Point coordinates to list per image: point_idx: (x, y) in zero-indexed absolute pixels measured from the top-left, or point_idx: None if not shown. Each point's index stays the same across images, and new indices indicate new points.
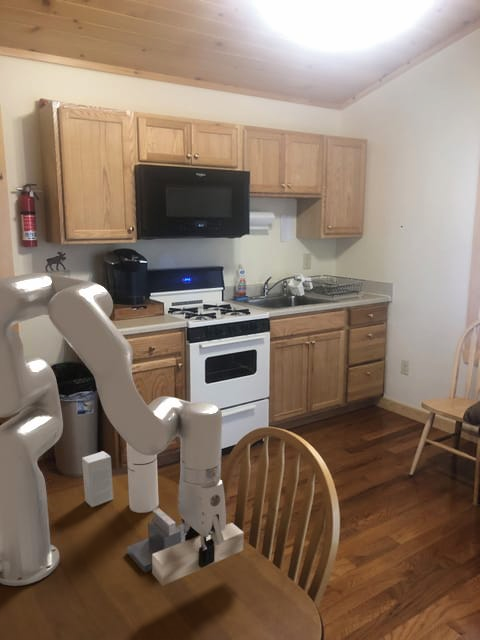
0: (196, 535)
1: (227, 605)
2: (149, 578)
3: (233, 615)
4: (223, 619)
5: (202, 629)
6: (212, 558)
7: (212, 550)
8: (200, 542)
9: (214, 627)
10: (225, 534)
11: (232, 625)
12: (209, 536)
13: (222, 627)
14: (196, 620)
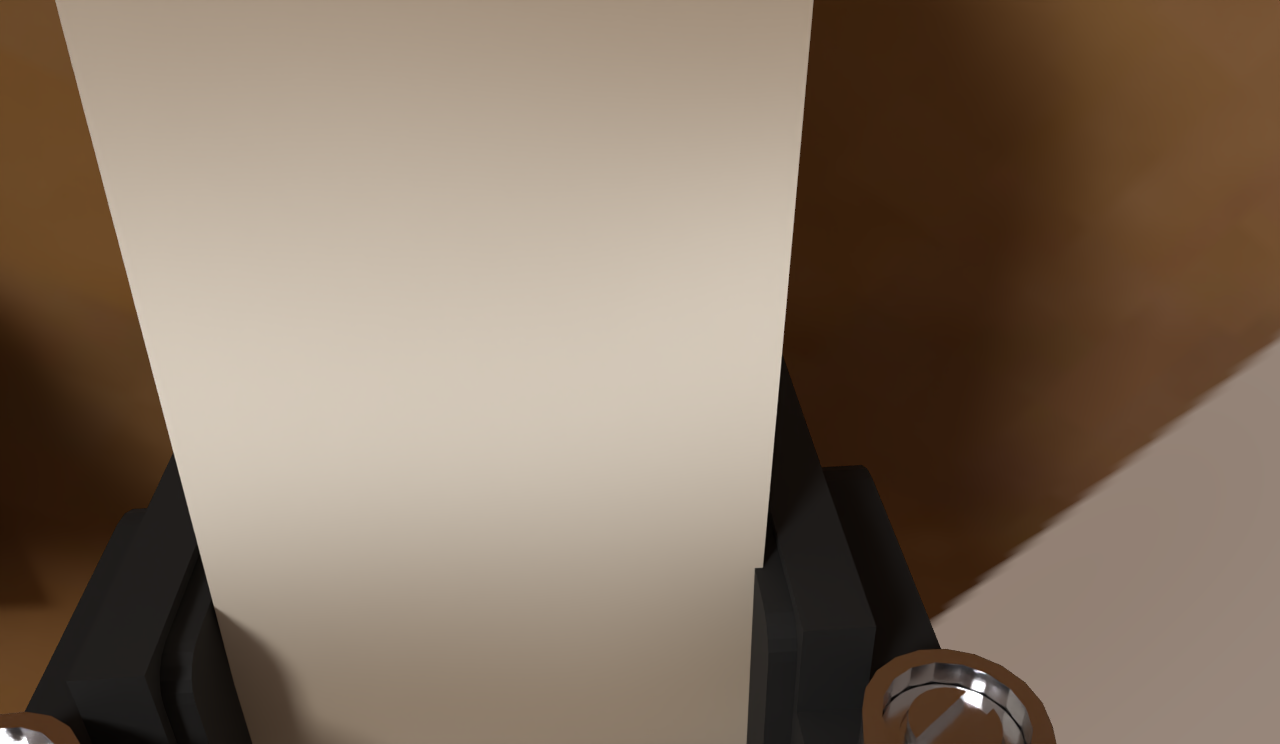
0: (225, 712)
1: (1009, 111)
2: (94, 552)
3: (1174, 144)
4: (1123, 261)
5: (1049, 468)
6: (872, 501)
7: (929, 645)
8: (506, 711)
9: (1122, 379)
10: (550, 6)
11: (1258, 233)
12: (386, 458)
13: (1187, 323)
14: (921, 460)
